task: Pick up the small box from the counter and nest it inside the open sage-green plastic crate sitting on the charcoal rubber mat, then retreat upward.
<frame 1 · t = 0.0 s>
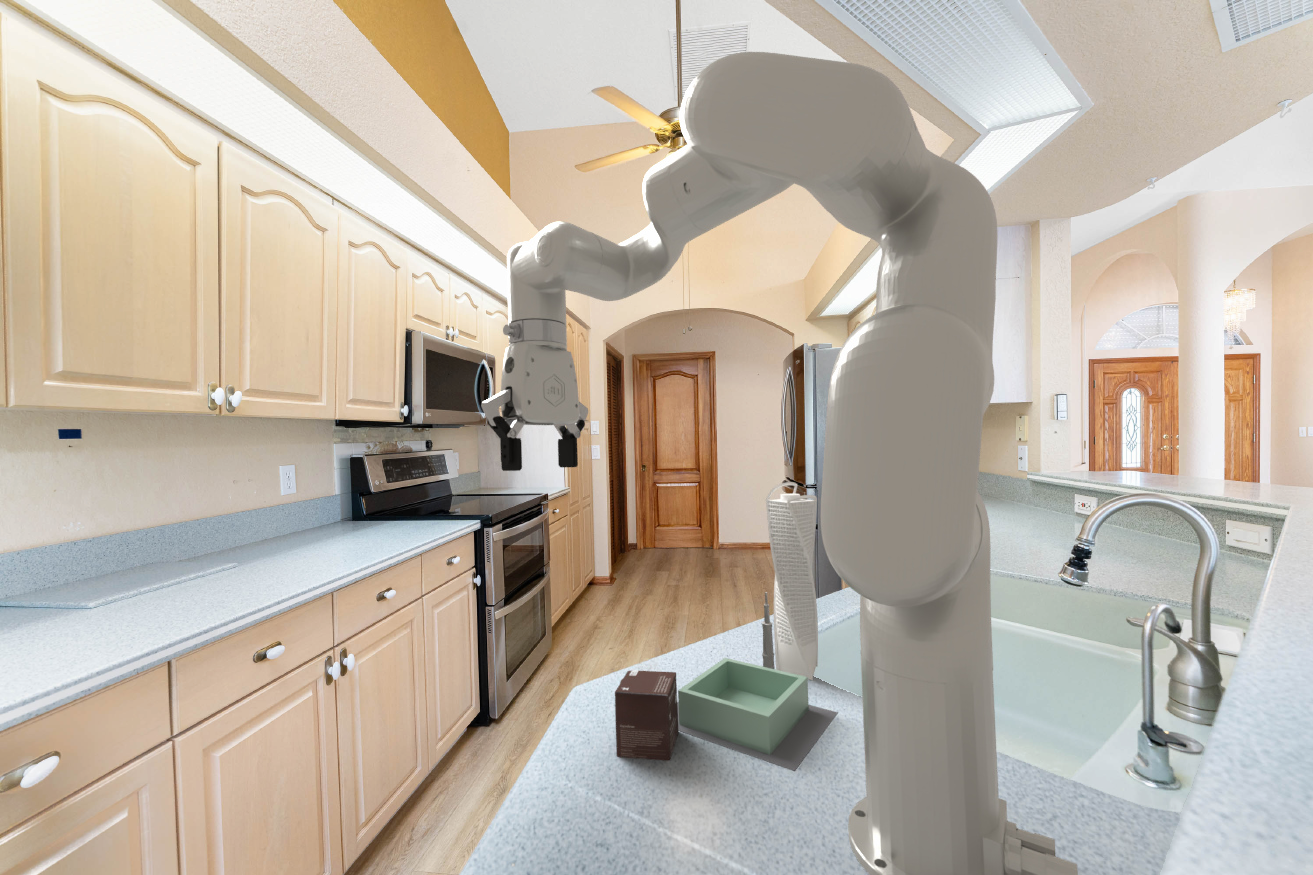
hand: (541, 468, 69), 31 cm above the countertop, fingers open, 9 cm apart
crate: (745, 716, 64), resting on mat
mat: (745, 719, 64), on the countertop
box: (648, 749, 59), on the countertop
skyscraper: (794, 676, 77), on the countertop
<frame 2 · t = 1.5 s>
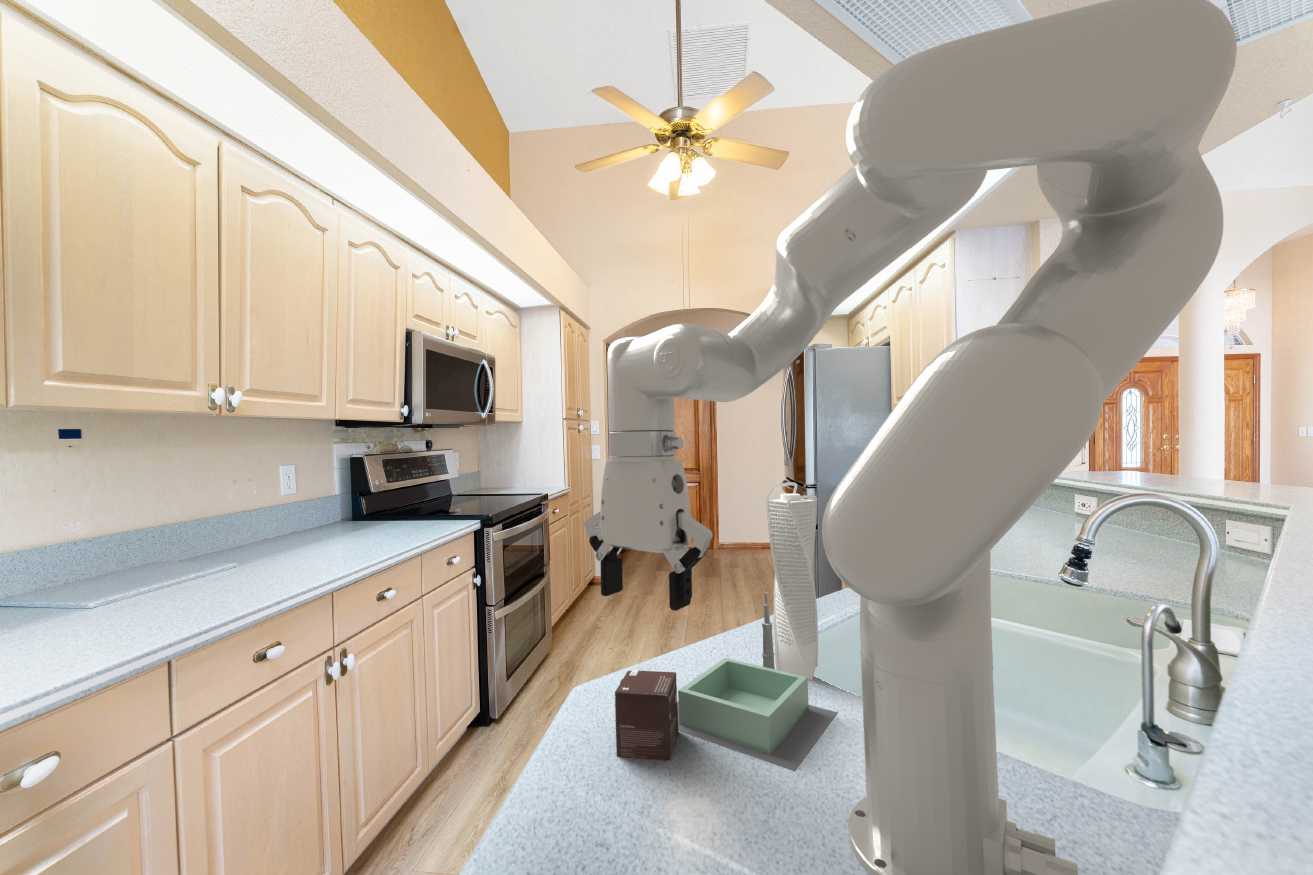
hand: (644, 599, 59), 16 cm above the countertop, fingers open, 9 cm apart
nothing on the countertop moved.
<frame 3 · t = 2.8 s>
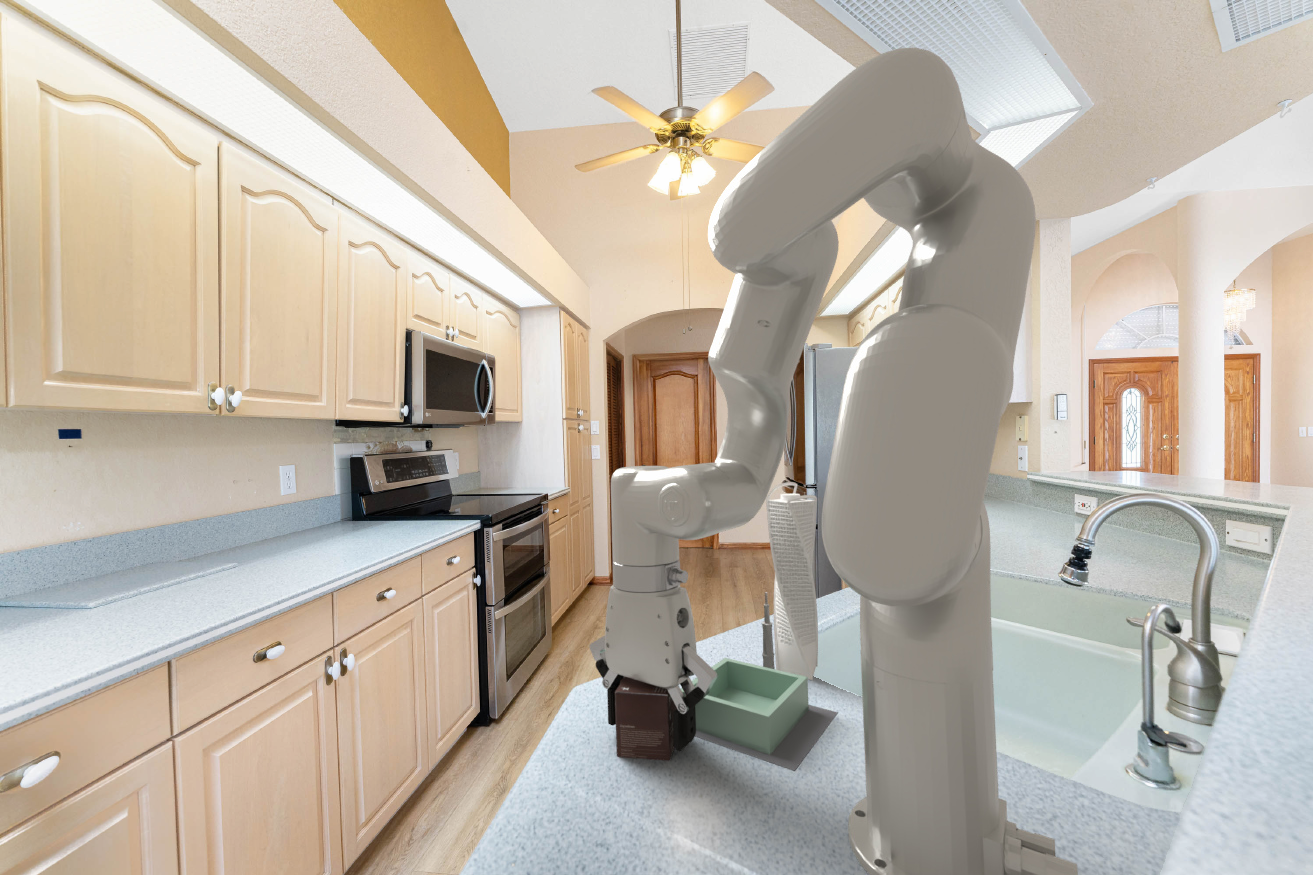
hand: (650, 731, 59), 2 cm above the countertop, fingers open, 8 cm apart
box: (648, 749, 59), on the countertop, touching gripper
everything else where it was.
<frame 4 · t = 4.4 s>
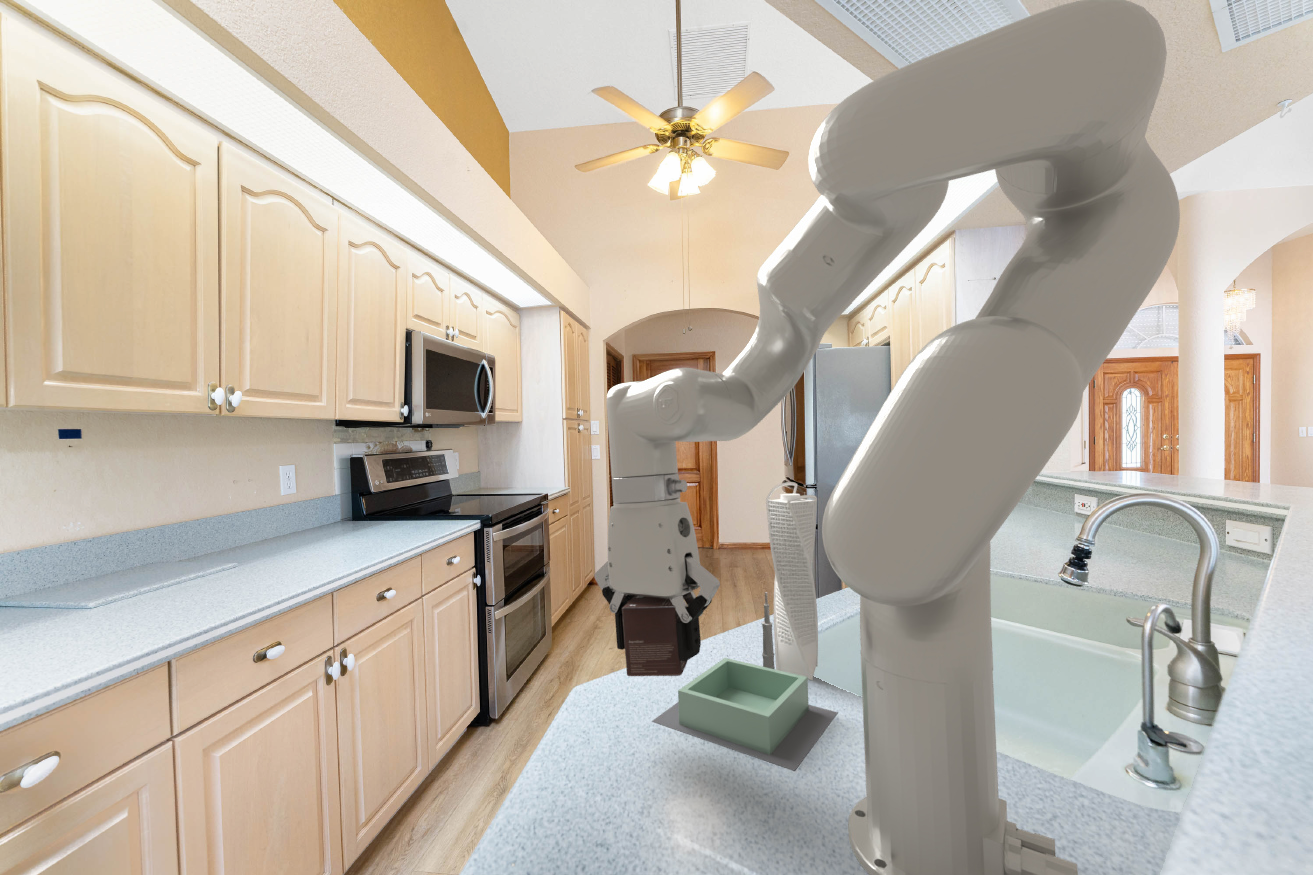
hand: (657, 650, 58), 11 cm above the countertop, fingers closed on box, 7 cm apart
box: (659, 668, 58), point 9 cm above the countertop, touching gripper
everything else where it was.
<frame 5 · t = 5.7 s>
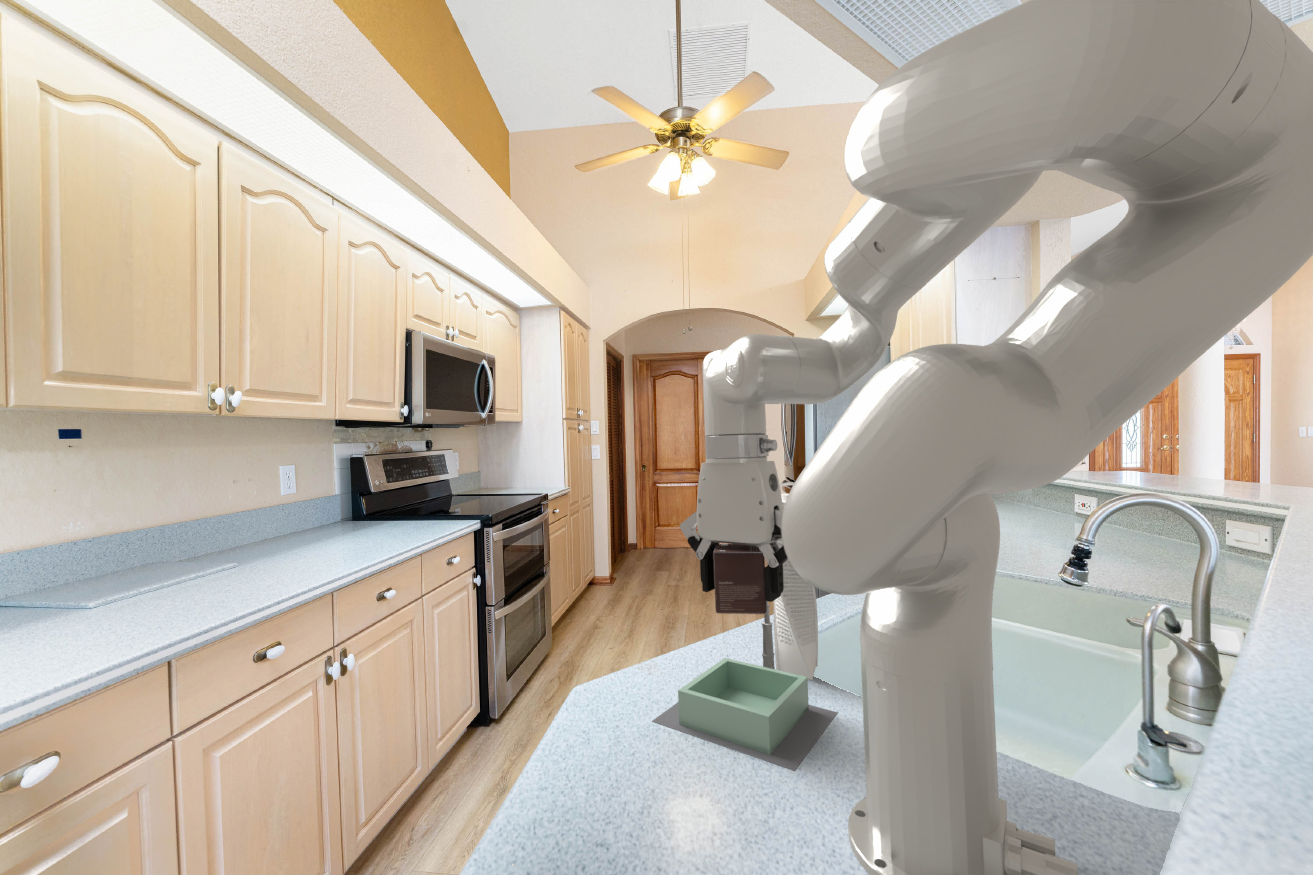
hand: (740, 593, 64), 15 cm above the countertop, fingers closed on box, 7 cm apart
box: (741, 609, 64), point 13 cm above the countertop, touching gripper
everything else where it was.
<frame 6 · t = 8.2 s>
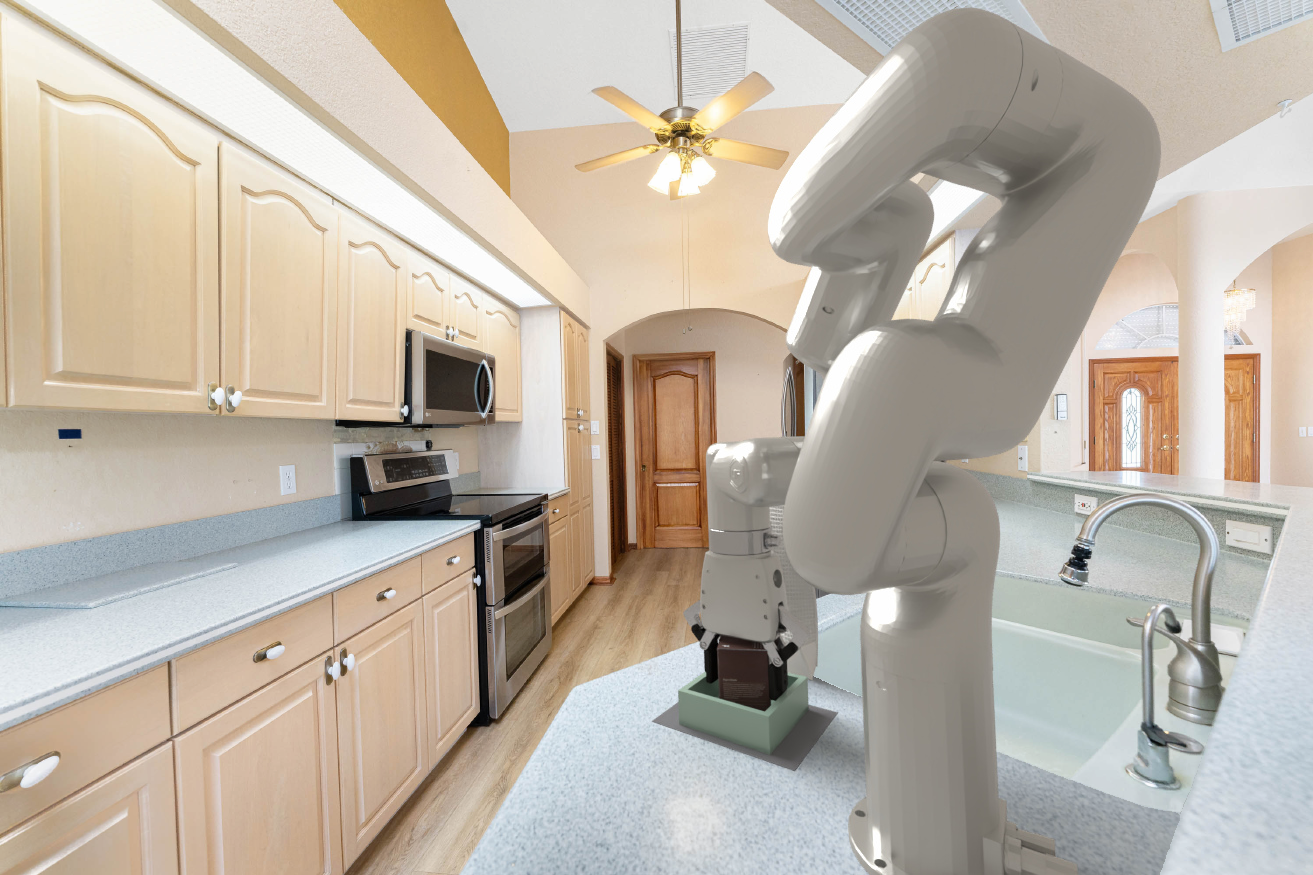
hand: (745, 686, 64), 4 cm above the countertop, fingers closed on box, 7 cm apart
box: (746, 702, 64), point 2 cm above the countertop, touching gripper
everything else where it was.
when the fingers open (4 cm above the countertop, at t = 8.6 s): box drops 1 cm, resting on crate.
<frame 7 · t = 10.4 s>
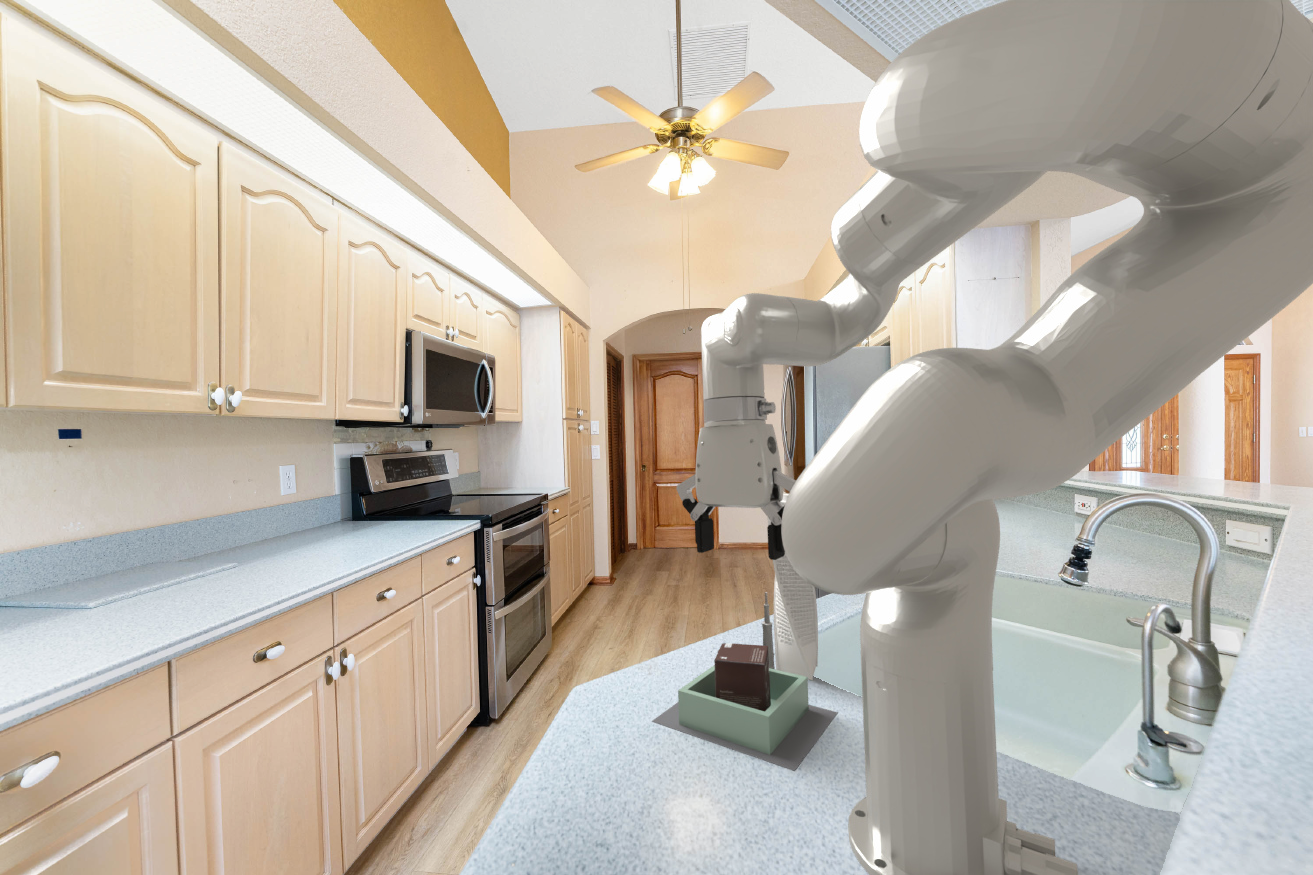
hand: (739, 554, 64), 20 cm above the countertop, fingers open, 9 cm apart
box: (744, 714, 64), point 1 cm above the countertop, touching crate
everything else where it was.
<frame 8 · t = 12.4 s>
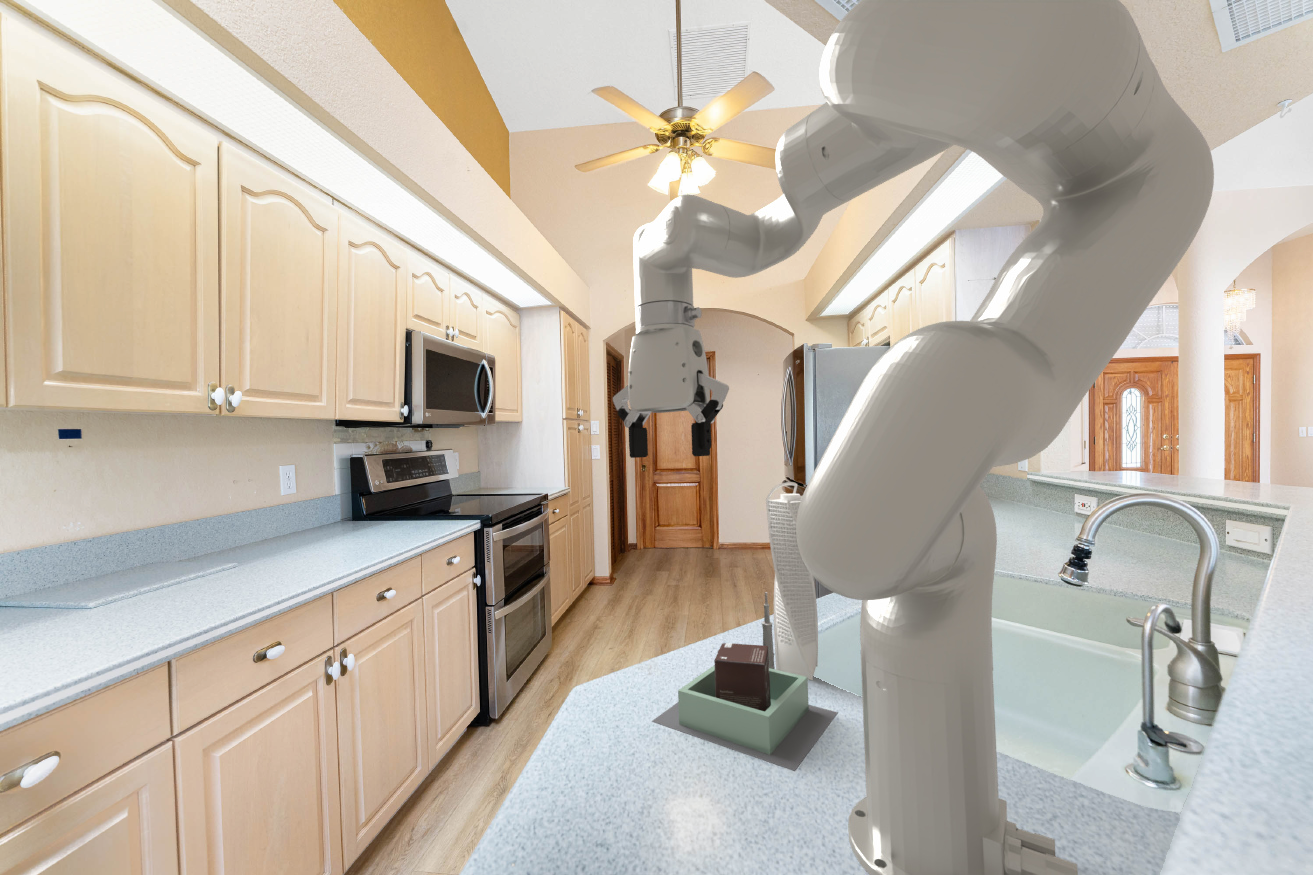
hand: (668, 456, 67), 32 cm above the countertop, fingers open, 9 cm apart
nothing on the countertop moved.
at the end: box 0.1 cm off-centre on the crate, point 0.3 cm above the crate's base; box tilted 0°; the gripper is holding nothing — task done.
